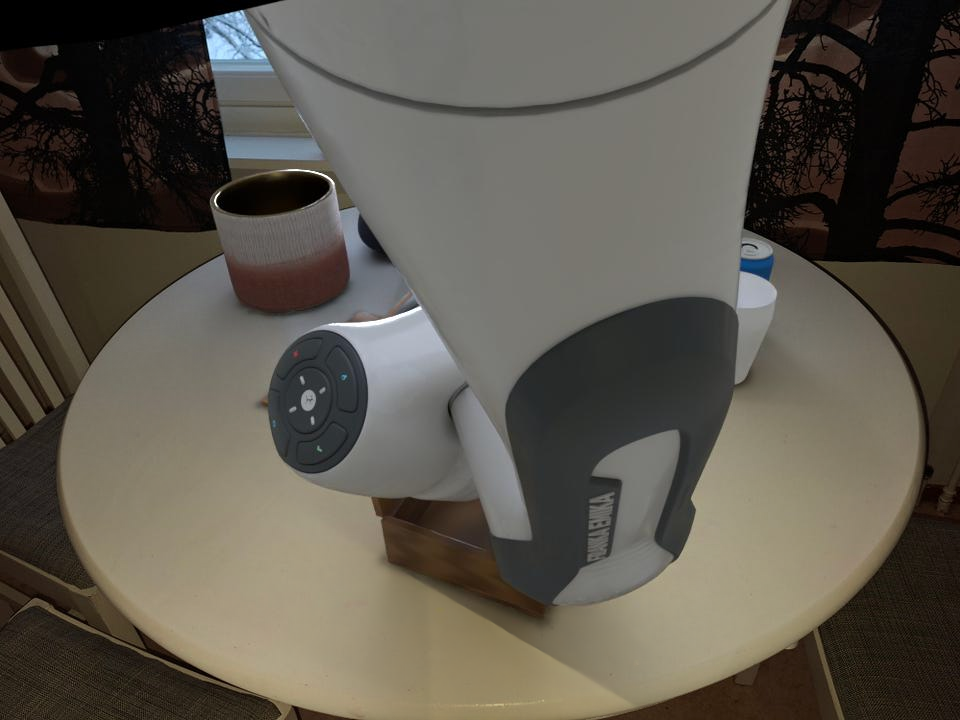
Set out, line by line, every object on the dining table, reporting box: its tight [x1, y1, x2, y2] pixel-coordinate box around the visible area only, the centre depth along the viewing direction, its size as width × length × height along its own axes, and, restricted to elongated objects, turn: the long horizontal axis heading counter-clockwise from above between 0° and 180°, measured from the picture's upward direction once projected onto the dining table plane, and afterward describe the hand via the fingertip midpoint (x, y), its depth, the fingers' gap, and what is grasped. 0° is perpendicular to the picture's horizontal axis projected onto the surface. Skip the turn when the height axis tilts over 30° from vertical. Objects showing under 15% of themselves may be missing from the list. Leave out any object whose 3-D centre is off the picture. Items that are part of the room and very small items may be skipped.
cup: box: [735, 271, 778, 385], centre depth 82 cm, size 9×9×12 cm
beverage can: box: [740, 237, 775, 282], centre depth 90 cm, size 6×6×12 cm
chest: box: [380, 497, 550, 621], centre depth 65 cm, size 16×14×6 cm
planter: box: [209, 169, 351, 314], centre depth 102 cm, size 18×18×16 cm
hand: (520, 452), depth 59 cm, fingers closed on tea tin, 5 cm apart
